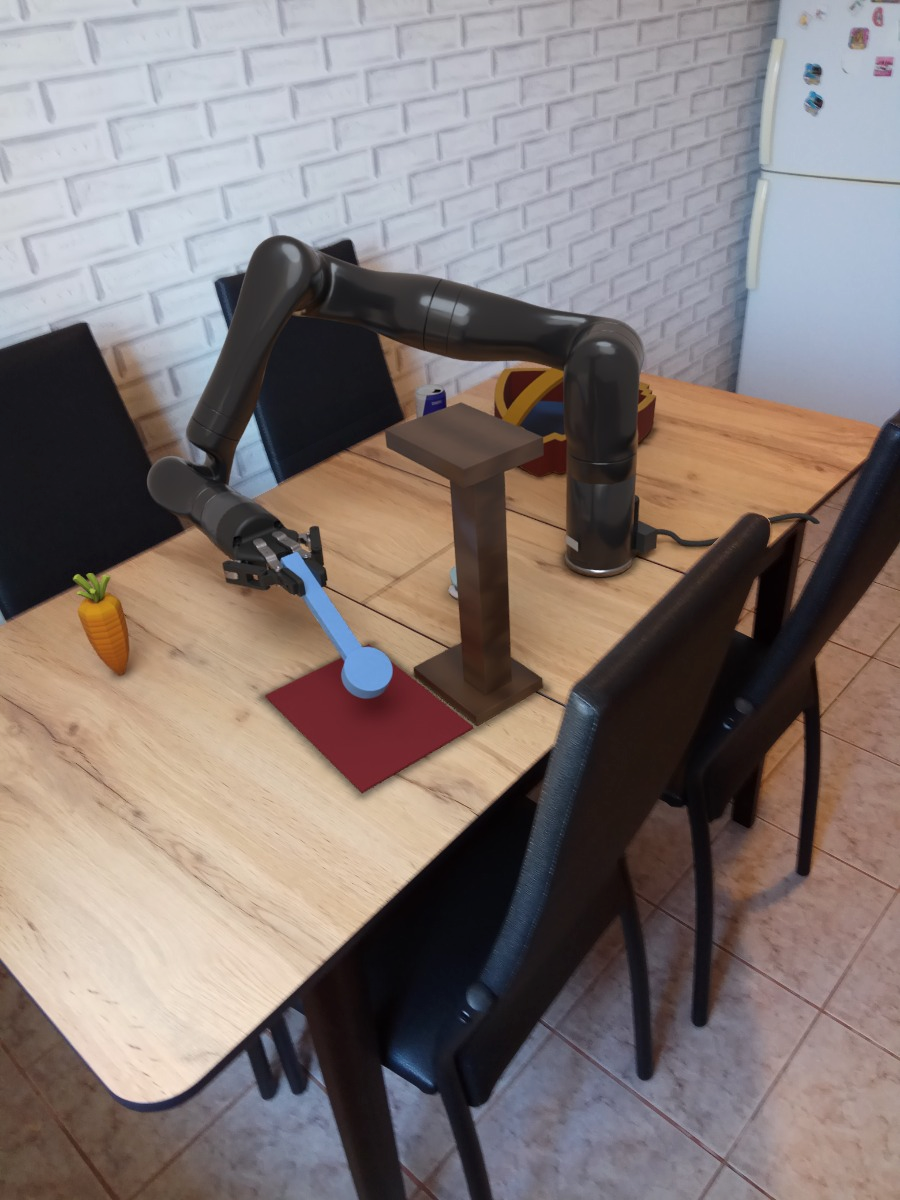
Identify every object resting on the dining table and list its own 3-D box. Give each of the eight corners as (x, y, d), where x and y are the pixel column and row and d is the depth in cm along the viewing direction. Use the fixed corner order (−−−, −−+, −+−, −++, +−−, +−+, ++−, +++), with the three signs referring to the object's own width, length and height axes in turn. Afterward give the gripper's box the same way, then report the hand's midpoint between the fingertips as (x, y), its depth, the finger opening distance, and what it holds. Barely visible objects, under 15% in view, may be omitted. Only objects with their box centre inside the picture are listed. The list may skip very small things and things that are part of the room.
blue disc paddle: (307, 552, 110) (309, 543, 108) (398, 685, 104) (402, 677, 102) (267, 569, 107) (269, 560, 106) (357, 706, 101) (361, 698, 99)
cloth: (369, 645, 118) (369, 643, 118) (473, 728, 104) (473, 726, 104) (265, 697, 111) (264, 695, 111) (361, 793, 97) (361, 791, 96)
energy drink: (446, 461, 162) (441, 395, 155) (416, 460, 163) (410, 394, 156) (452, 448, 166) (448, 383, 159) (423, 447, 167) (418, 383, 160)
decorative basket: (556, 504, 151) (568, 422, 141) (437, 432, 167) (440, 354, 157) (682, 440, 169) (700, 363, 159) (564, 381, 185) (574, 308, 175)
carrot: (149, 665, 118) (118, 564, 109) (126, 689, 114) (92, 587, 105) (117, 659, 119) (84, 559, 111) (92, 683, 115) (56, 581, 107)
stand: (475, 641, 117) (460, 402, 100) (545, 690, 109) (543, 436, 91) (411, 674, 113) (384, 429, 95) (479, 728, 104) (463, 469, 86)
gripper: (184, 522, 111) (252, 579, 100) (285, 485, 118) (360, 534, 106) (198, 575, 116) (264, 635, 104) (294, 536, 122) (367, 589, 110)
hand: (312, 584), depth 105 cm, fingers closed on blue disc paddle, 2 cm apart
